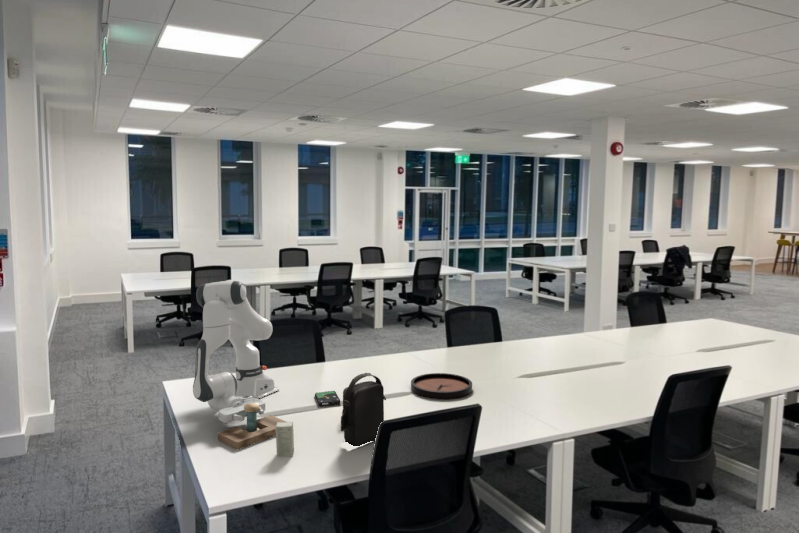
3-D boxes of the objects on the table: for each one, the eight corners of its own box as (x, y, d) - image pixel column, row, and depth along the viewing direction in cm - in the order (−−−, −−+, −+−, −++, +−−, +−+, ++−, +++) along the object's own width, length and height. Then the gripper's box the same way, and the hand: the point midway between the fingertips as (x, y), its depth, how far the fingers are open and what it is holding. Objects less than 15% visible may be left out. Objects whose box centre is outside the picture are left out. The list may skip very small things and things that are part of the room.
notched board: (270, 421, 257) (270, 415, 257) (290, 430, 248) (290, 423, 247) (217, 439, 238) (217, 432, 237) (237, 449, 228) (237, 442, 228)
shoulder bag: (348, 452, 227) (348, 382, 223) (333, 445, 233) (333, 377, 230) (390, 436, 242) (391, 370, 239) (376, 429, 249) (376, 365, 245)
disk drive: (341, 406, 278) (334, 395, 292) (340, 400, 278) (334, 390, 292) (319, 408, 275) (314, 397, 289) (319, 402, 275) (314, 392, 289)
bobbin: (254, 429, 248) (253, 402, 247) (262, 433, 244) (261, 405, 243) (241, 433, 244) (241, 406, 242) (250, 437, 240) (249, 409, 238)
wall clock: (441, 369, 323) (485, 383, 299) (441, 376, 323) (484, 391, 300) (398, 381, 302) (441, 396, 279) (398, 388, 303) (441, 405, 279)
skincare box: (294, 451, 227) (293, 421, 226) (292, 456, 223) (292, 426, 221) (278, 451, 227) (277, 421, 225) (276, 457, 222) (275, 426, 221)
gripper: (212, 406, 243) (230, 415, 234) (253, 394, 259) (272, 402, 250) (212, 421, 244) (231, 430, 235) (254, 408, 259) (273, 416, 250)
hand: (252, 415), depth 242 cm, fingers open, 8 cm apart
